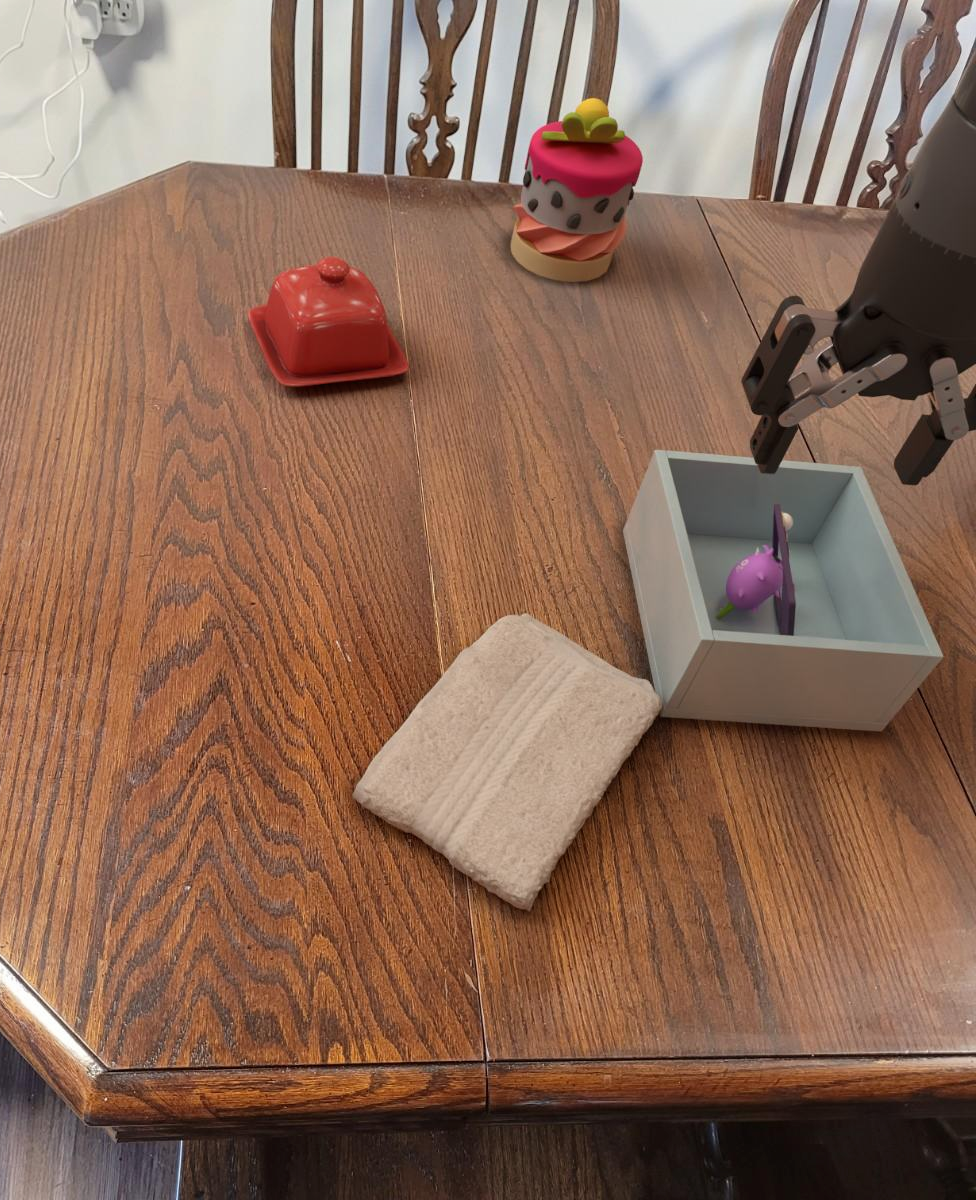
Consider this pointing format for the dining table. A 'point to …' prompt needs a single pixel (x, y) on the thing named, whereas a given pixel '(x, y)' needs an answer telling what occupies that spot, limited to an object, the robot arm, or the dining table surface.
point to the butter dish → (326, 327)
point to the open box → (822, 592)
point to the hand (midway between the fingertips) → (833, 470)
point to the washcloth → (510, 754)
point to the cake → (575, 195)
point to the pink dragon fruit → (765, 578)
